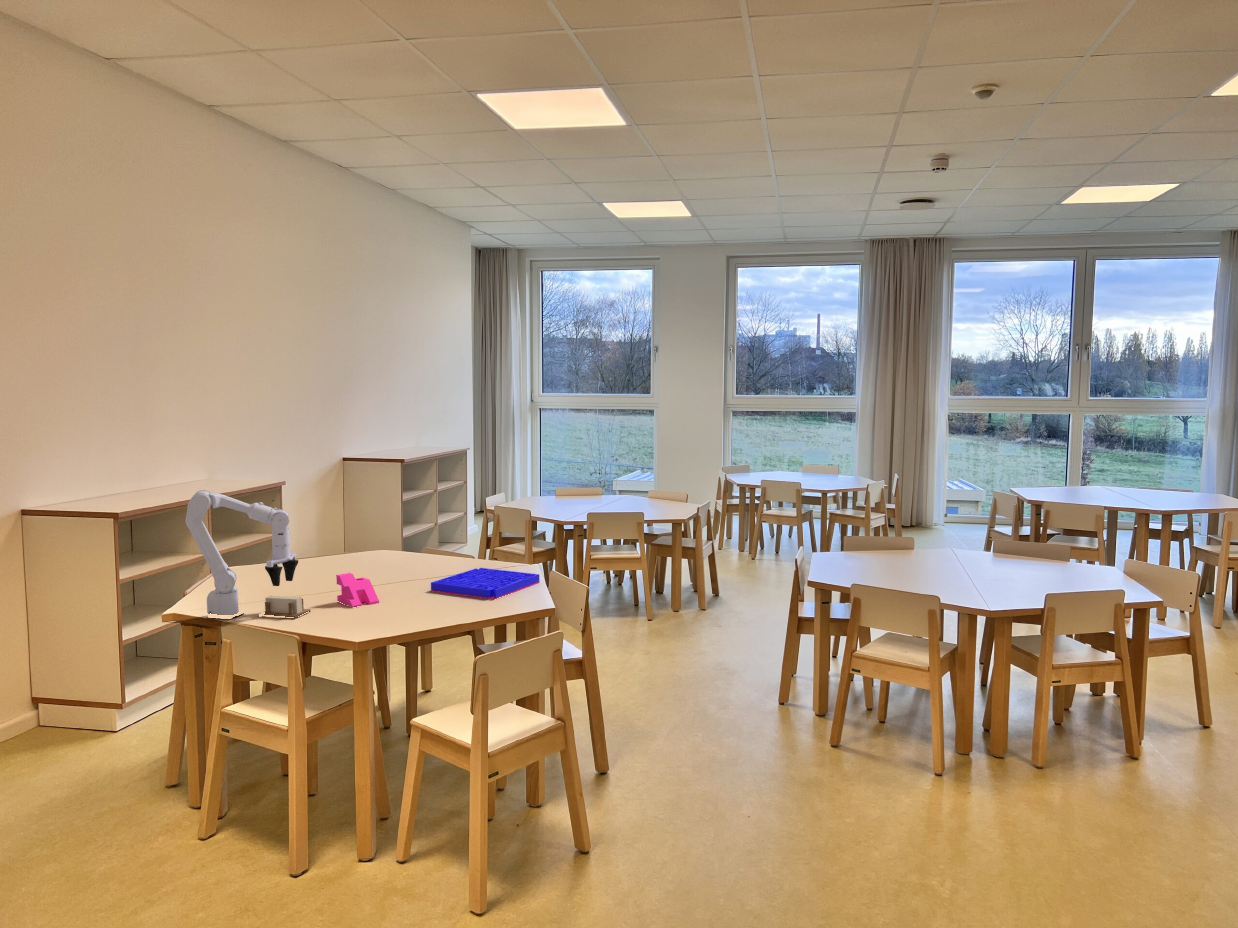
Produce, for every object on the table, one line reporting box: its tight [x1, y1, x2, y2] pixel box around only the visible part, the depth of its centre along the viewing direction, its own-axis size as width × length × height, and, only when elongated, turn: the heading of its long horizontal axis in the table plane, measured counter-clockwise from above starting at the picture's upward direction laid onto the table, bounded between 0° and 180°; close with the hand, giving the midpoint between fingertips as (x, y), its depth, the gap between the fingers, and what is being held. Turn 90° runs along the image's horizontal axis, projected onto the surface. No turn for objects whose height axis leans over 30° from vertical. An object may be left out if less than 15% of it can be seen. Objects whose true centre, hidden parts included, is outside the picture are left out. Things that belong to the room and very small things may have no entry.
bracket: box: [335, 572, 380, 608], centre depth 301 cm, size 12×10×10 cm
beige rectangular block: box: [265, 595, 303, 614], centre depth 286 cm, size 12×3×5 cm, turn 78°
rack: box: [264, 598, 311, 619], centre depth 286 cm, size 14×9×5 cm, turn 78°
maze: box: [430, 567, 540, 600], centre depth 324 cm, size 30×30×4 cm
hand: (282, 583), depth 289 cm, fingers open, 7 cm apart
